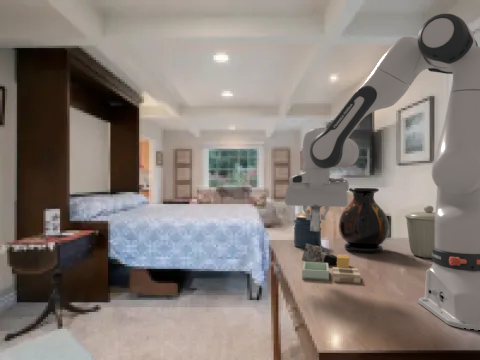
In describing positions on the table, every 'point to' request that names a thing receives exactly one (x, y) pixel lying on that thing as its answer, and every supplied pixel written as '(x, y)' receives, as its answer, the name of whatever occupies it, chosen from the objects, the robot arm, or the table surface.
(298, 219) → the canister
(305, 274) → the tray
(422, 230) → the canister
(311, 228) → the stop pin
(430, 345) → the table surface
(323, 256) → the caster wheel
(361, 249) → the amphora vase
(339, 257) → the chock
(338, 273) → the pin stand
